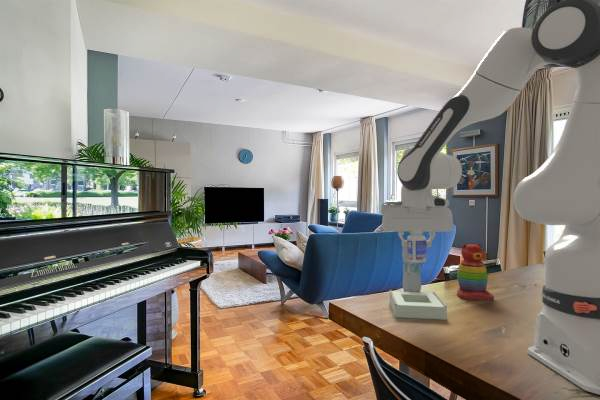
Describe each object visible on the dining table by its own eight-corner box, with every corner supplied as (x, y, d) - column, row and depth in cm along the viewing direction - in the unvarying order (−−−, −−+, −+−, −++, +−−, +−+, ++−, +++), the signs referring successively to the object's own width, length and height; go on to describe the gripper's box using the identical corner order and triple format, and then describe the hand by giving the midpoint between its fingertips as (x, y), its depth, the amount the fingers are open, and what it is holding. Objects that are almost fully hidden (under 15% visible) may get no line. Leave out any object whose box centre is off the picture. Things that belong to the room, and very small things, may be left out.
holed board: (447, 319, 92) (447, 306, 92) (395, 317, 94) (395, 303, 94) (434, 303, 106) (434, 291, 106) (389, 301, 108) (389, 290, 108)
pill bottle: (428, 260, 101) (427, 228, 101) (423, 263, 96) (423, 230, 96) (409, 258, 104) (409, 227, 104) (405, 261, 99) (404, 229, 99)
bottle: (407, 288, 123) (407, 235, 123) (425, 292, 118) (424, 236, 118) (398, 292, 118) (398, 236, 118) (416, 296, 114) (416, 238, 114)
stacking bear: (461, 299, 110) (461, 246, 110) (451, 291, 120) (451, 242, 120) (496, 300, 109) (496, 246, 108) (482, 292, 119) (482, 242, 119)
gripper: (381, 201, 98) (382, 247, 98) (454, 200, 95) (455, 248, 95) (380, 200, 105) (380, 244, 105) (448, 200, 101) (448, 245, 101)
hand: (416, 246), depth 100 cm, fingers closed on pill bottle, 5 cm apart
